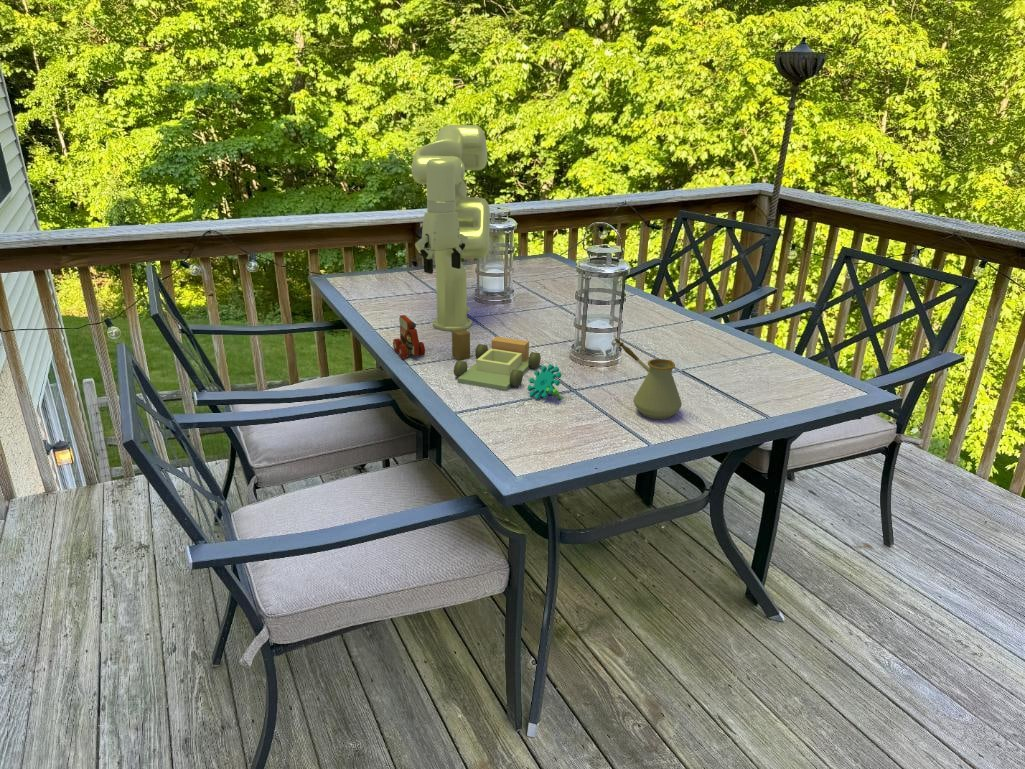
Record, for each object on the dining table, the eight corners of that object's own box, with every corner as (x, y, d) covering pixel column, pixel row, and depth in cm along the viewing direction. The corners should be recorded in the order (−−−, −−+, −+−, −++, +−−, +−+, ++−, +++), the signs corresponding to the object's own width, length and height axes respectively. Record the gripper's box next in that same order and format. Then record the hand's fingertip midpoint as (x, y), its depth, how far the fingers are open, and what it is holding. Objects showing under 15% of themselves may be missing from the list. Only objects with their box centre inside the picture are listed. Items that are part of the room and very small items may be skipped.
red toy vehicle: (404, 362, 206) (403, 327, 202) (391, 348, 216) (389, 315, 212) (428, 359, 209) (427, 324, 205) (413, 345, 219) (412, 312, 215)
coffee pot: (690, 414, 178) (697, 356, 172) (659, 427, 171) (665, 367, 165) (625, 386, 193) (629, 332, 187) (594, 397, 186) (597, 342, 180)
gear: (520, 383, 189) (547, 356, 188) (533, 395, 193) (560, 368, 192) (538, 405, 181) (566, 377, 180) (551, 417, 184) (579, 389, 183)
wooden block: (463, 354, 213) (463, 327, 210) (470, 358, 210) (470, 331, 207) (451, 356, 211) (451, 330, 208) (458, 360, 208) (458, 334, 205)
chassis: (484, 354, 213) (484, 334, 211) (542, 363, 207) (543, 342, 205) (450, 381, 194) (450, 359, 192) (514, 392, 188) (514, 369, 186)
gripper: (457, 203, 204) (457, 264, 210) (406, 208, 193) (408, 272, 199) (474, 206, 199) (475, 268, 205) (424, 211, 188) (425, 277, 194)
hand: (442, 270), depth 202 cm, fingers open, 9 cm apart
